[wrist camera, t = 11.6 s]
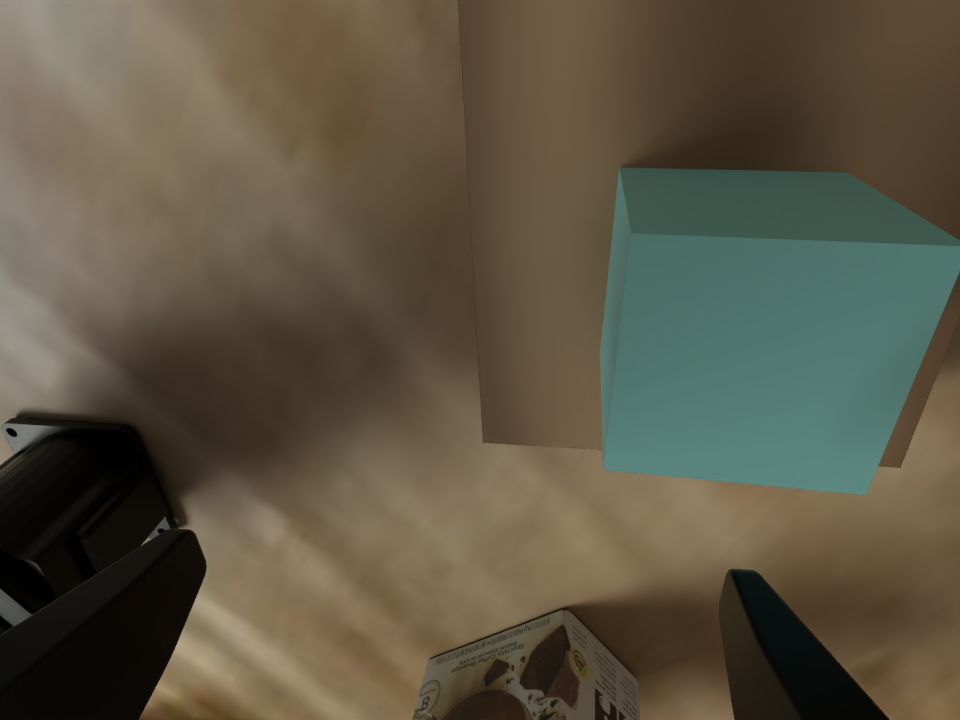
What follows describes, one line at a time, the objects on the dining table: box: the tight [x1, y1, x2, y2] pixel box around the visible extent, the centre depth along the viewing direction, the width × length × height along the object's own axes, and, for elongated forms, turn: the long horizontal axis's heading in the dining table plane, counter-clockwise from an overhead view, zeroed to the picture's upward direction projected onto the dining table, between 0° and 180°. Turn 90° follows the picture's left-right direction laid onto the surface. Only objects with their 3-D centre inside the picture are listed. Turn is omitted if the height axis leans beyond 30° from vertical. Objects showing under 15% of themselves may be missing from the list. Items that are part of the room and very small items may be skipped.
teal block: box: [600, 168, 960, 495], centre depth 13 cm, size 5×5×5 cm
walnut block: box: [458, 0, 960, 468], centre depth 16 cm, size 12×12×4 cm
